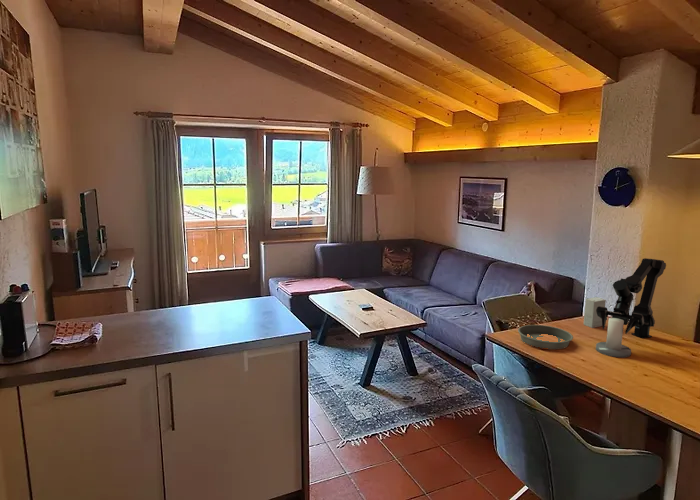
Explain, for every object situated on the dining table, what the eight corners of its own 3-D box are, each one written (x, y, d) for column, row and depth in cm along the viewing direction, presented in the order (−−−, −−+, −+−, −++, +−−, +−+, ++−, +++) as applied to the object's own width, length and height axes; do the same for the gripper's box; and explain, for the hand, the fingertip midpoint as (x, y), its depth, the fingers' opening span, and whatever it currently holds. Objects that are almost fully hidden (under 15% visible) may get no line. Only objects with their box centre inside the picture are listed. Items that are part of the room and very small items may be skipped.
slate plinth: (611, 344, 219) (611, 340, 218) (638, 355, 206) (638, 351, 205) (588, 348, 214) (589, 343, 214) (614, 359, 201) (615, 354, 201)
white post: (616, 345, 212) (619, 317, 210) (623, 349, 207) (626, 322, 204) (603, 344, 213) (606, 317, 211) (610, 349, 207) (612, 321, 205)
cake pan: (530, 351, 210) (530, 342, 209) (509, 333, 234) (510, 324, 234) (582, 351, 211) (583, 341, 210) (557, 332, 235) (557, 324, 235)
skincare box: (594, 323, 250) (597, 296, 248) (603, 326, 245) (606, 299, 242) (582, 324, 247) (585, 298, 245) (591, 328, 242) (594, 300, 239)
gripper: (648, 316, 212) (639, 345, 206) (604, 308, 225) (595, 335, 219) (646, 303, 205) (637, 332, 199) (600, 295, 218) (590, 322, 212)
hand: (614, 331), depth 207 cm, fingers open, 9 cm apart
